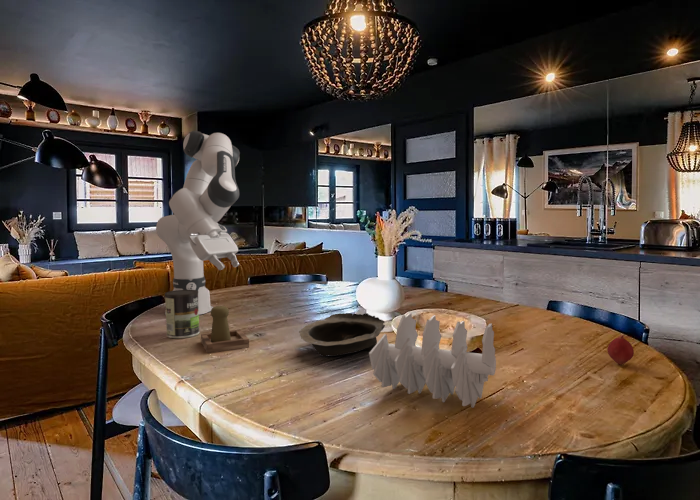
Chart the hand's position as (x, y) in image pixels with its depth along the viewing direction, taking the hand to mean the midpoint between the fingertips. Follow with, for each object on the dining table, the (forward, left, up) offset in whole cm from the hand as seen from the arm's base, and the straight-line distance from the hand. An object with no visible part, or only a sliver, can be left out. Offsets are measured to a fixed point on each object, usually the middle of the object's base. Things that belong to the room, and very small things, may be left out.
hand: (230, 267), depth 141 cm
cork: (+7, -5, -22) cm, 24 cm away
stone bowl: (+29, +25, -23) cm, 45 cm away
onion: (+72, +85, -23) cm, 114 cm away
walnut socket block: (+7, -4, -23) cm, 24 cm away
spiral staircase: (+66, +30, -23) cm, 76 cm away
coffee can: (-11, -14, -23) cm, 29 cm away
